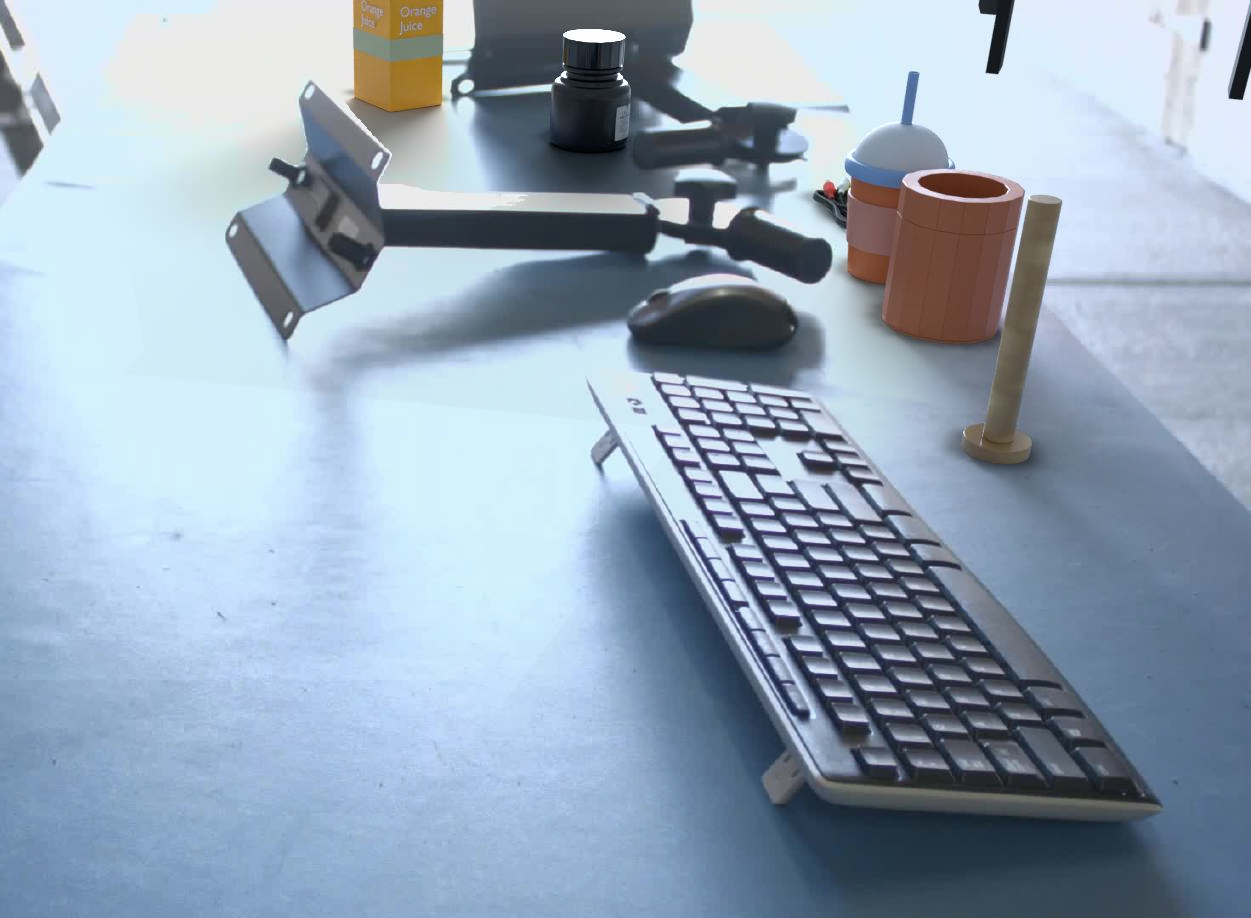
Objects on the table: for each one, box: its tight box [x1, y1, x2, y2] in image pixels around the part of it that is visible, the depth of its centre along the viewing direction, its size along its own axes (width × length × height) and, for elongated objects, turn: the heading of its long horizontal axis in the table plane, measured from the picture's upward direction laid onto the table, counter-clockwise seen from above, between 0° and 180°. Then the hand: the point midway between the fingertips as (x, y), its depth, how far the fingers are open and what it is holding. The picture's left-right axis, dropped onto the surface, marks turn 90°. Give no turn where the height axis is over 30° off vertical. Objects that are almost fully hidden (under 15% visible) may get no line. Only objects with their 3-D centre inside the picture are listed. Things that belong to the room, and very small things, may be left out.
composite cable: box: [811, 176, 851, 228], centre depth 150 cm, size 10×5×2 cm, turn 168°
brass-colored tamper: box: [960, 194, 1063, 465], centre depth 99 cm, size 4×4×18 cm
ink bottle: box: [548, 29, 632, 152], centre depth 170 cm, size 10×9×12 cm
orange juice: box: [352, 0, 444, 113], centre depth 184 cm, size 8×9×20 cm
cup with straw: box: [844, 70, 956, 285], centre depth 130 cm, size 9×9×18 cm
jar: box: [880, 168, 1026, 345], centre depth 121 cm, size 9×9×12 cm
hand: (1111, 82), depth 92 cm, fingers open, 13 cm apart
